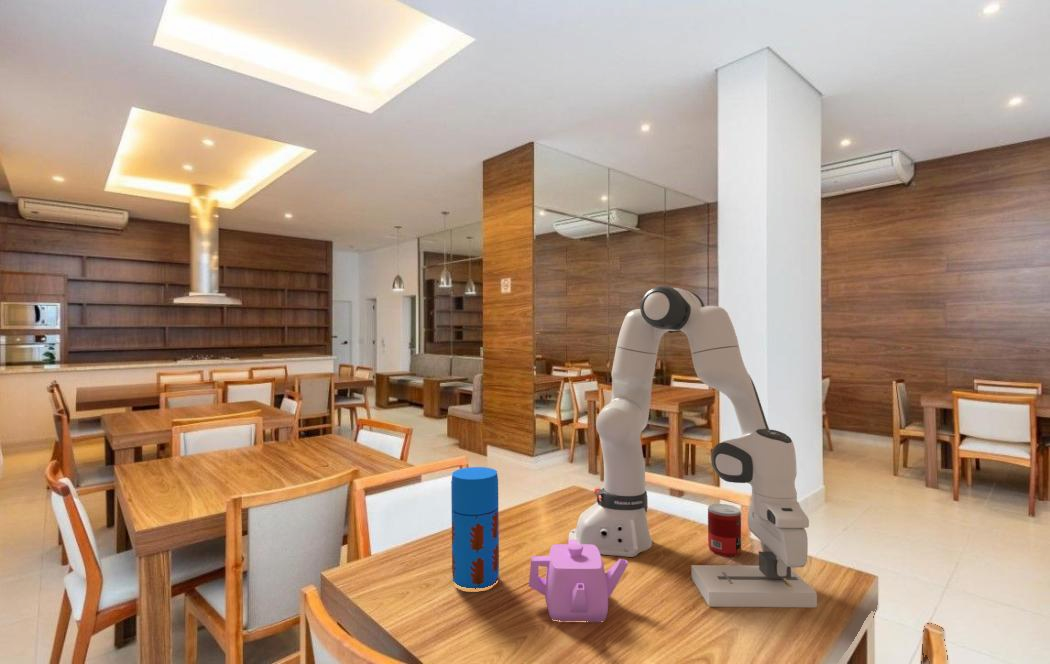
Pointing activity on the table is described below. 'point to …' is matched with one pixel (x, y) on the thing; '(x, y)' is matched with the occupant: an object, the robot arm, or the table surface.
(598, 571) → the teakettle
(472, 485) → the thermos
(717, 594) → the slider panel
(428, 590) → the table surface
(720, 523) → the canned food
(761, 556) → the block
